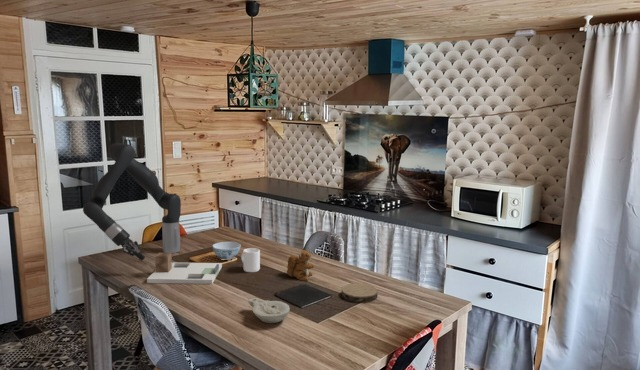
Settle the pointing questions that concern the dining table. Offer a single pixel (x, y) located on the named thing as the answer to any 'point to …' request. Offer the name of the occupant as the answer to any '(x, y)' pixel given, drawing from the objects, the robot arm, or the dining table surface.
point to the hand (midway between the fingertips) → (143, 259)
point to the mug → (251, 259)
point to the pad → (209, 271)
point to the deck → (186, 274)
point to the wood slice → (359, 292)
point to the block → (163, 262)
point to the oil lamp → (269, 310)
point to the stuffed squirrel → (300, 266)
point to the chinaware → (226, 249)
